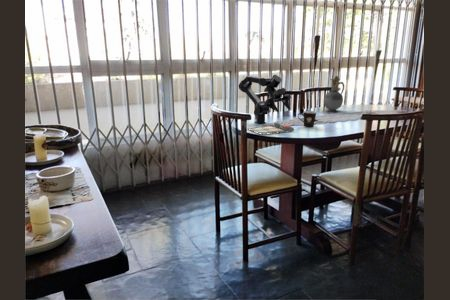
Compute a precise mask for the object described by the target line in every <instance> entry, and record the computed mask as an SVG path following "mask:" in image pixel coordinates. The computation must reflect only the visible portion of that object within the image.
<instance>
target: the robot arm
mask: <svg viewBox="0 0 450 300" xmlns="http://www.w3.org/2000/svg"><path fill="white" fill-rule="evenodd" d="M271 77H272V78H271ZM271 77H258V76H253V75H246V77H245V78H244V79H242V80H241V81H240V82H239V84H238V89H239V91H240V92H243V93H245V94H246V96H247V97H248V98H249V99H250V100H251V102H253V105H255V110H254V111H253V114H254V115H255V116H256V121H254V123H255V124H258V125H261V124H267V122H266V115H268V114H269V111H270V109H272V111H273V110H274V111H275V112H277V113H278V112H279V109H278V107H277V105H276V104H275V103H280V102H282V104H283V106H284V107H286V109H288V110H290V109H291V108H290V100H291V98H292V97H291V94H285V93H286V92H287V90H286V88H285V87H281V88H278V87H279V86H280V84H281V83H282V81H283V79H282V77H280V76H279V75H277V74H273V76H271ZM253 83H254V84H258V85H260V86H261V87H264V90H263V92H264V93H267V94H268V98H266V99H265V100H261V99H260V98H259V96H257V94H256V93H255V92H254V91H253V89H252V85H253ZM276 88H278V89H276ZM283 95H284V96H283Z"/></svg>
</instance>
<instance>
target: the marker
mask: <svg viewBox="0 0 450 300" xmlns="http://www.w3.org/2000/svg"><path fill="white" fill-rule="evenodd" d="M274 125H275V126H277V127H276V128H278V127H283V125H284V124H283V123H281V122H274ZM274 125H273V126H274ZM275 126H274V127H275Z"/></svg>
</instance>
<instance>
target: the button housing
mask: <svg viewBox="0 0 450 300" xmlns="http://www.w3.org/2000/svg"><path fill="white" fill-rule="evenodd" d="M279 129H281V130H284V131H290V132H294V130H295V128H294V127H291V128H289V129H285V128H283V127H280V128H279Z"/></svg>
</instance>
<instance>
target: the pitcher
mask: <svg viewBox="0 0 450 300" xmlns="http://www.w3.org/2000/svg"><path fill="white" fill-rule="evenodd" d="M340 80H341V78H340V77H339V76H338V75H334V78H330V79H329V81H331V89H330V91H329V92H327V93H326V94H325V95H324V98H323V105H324V107H325V108H326V109H327V112H330V113H336V112H338V109H340V108H341V107H342V105H343V102H344V97H343V95H342V94H344V93H343V92H344V90H345V83H344V82H343V81H340ZM339 85H342V90H341V92H338V88H339Z"/></svg>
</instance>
